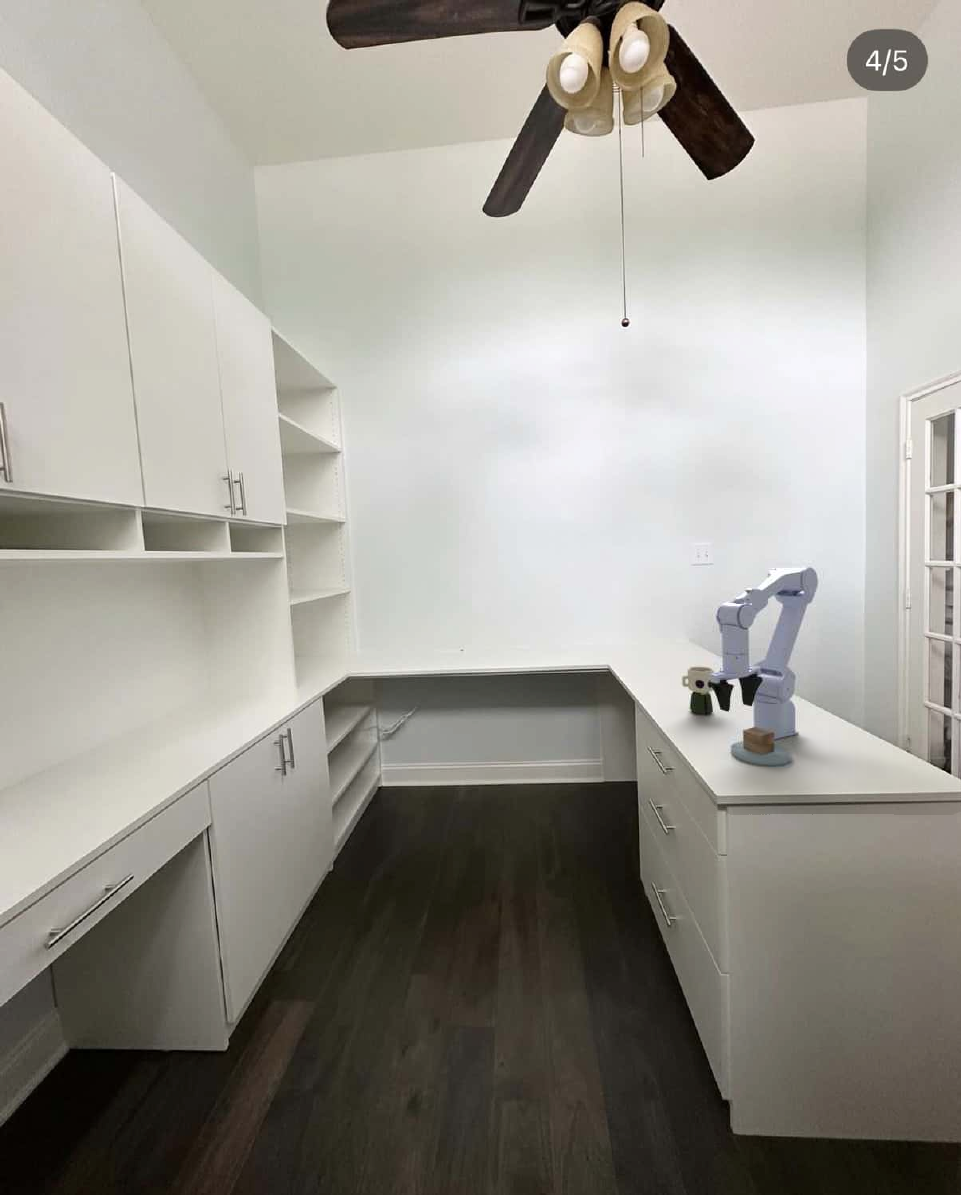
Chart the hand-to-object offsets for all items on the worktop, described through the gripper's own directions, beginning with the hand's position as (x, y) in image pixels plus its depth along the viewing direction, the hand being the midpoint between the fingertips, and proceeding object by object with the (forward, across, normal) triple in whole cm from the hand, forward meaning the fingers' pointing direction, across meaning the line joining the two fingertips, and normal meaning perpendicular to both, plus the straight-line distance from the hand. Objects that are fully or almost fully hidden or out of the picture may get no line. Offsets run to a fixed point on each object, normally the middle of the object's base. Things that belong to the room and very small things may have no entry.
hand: (736, 707), depth 122 cm
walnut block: (+8, +1, +7) cm, 11 cm away
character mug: (+10, -12, -23) cm, 27 cm away
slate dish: (+9, +1, +7) cm, 12 cm away
